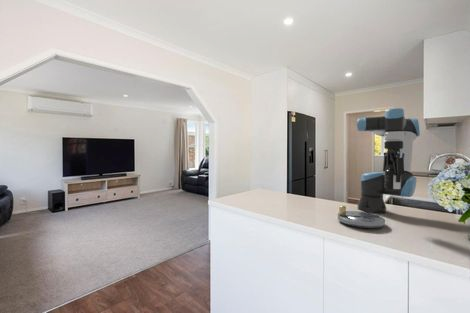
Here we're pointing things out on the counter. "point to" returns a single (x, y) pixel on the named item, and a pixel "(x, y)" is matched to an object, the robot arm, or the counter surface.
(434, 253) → the counter surface
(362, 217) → the turntable
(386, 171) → the supplement bottle
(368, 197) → the robot arm
